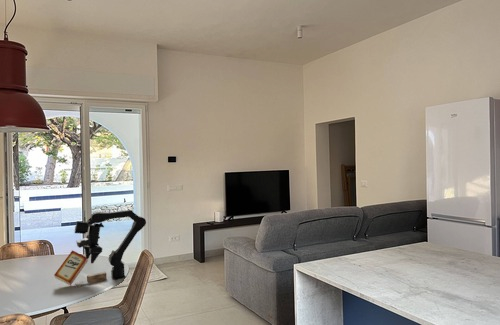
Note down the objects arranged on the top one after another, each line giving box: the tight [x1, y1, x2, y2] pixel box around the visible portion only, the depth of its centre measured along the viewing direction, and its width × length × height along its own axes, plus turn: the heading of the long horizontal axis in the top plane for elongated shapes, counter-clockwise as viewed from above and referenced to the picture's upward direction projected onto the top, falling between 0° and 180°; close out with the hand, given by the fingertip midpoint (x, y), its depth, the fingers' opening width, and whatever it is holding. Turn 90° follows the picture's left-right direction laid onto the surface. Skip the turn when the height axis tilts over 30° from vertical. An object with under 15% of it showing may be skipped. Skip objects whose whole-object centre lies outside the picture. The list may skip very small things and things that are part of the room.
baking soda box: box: [53, 250, 89, 286], centre depth 210 cm, size 10×6×16 cm
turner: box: [75, 271, 108, 287], centre depth 213 cm, size 16×6×4 cm, turn 130°
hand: (89, 261), depth 213 cm, fingers open, 9 cm apart
